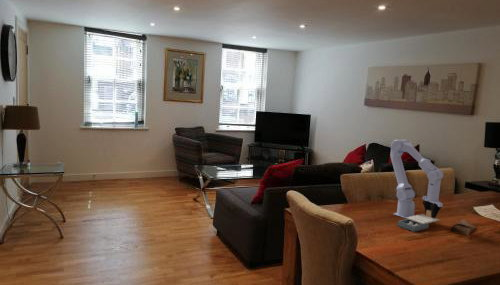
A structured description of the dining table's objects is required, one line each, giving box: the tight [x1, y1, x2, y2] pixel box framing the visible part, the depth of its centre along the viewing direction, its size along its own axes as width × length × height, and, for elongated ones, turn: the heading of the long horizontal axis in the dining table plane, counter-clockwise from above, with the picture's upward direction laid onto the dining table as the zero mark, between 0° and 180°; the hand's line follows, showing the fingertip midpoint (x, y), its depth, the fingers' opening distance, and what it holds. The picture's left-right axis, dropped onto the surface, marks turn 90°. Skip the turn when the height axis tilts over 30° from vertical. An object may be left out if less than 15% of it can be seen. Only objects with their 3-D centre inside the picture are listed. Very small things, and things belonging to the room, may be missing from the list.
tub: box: [397, 218, 430, 233], centre depth 187 cm, size 13×9×3 cm
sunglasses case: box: [451, 218, 477, 237], centre depth 189 cm, size 18×7×7 cm, turn 137°
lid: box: [405, 210, 440, 224], centre depth 191 cm, size 15×10×5 cm, turn 122°
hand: (430, 216), depth 195 cm, fingers closed on lid, 4 cm apart
